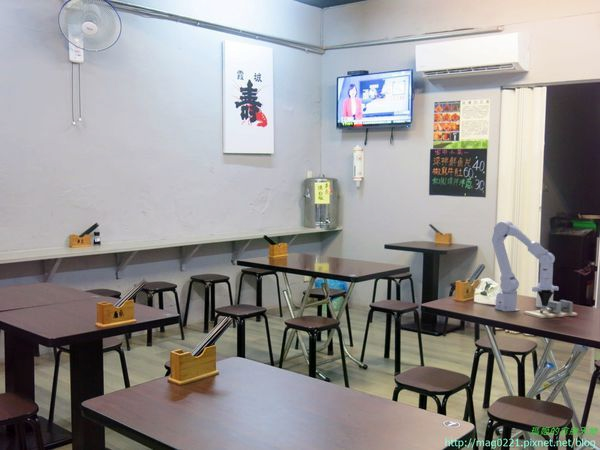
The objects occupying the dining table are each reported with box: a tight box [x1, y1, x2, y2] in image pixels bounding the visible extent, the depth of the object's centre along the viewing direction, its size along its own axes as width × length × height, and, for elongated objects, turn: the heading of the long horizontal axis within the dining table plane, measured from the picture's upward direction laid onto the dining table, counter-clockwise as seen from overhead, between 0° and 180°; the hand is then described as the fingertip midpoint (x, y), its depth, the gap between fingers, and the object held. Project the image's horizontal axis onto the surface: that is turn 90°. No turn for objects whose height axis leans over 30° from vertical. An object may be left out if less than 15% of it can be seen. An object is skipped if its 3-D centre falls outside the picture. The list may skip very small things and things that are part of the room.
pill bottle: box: [535, 283, 554, 309], centre depth 317 cm, size 8×8×15 cm
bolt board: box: [523, 299, 578, 319], centre depth 300 cm, size 23×11×6 cm, turn 112°
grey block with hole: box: [547, 300, 561, 313], centre depth 301 cm, size 3×6×5 cm, turn 22°
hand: (544, 305), depth 298 cm, fingers closed
